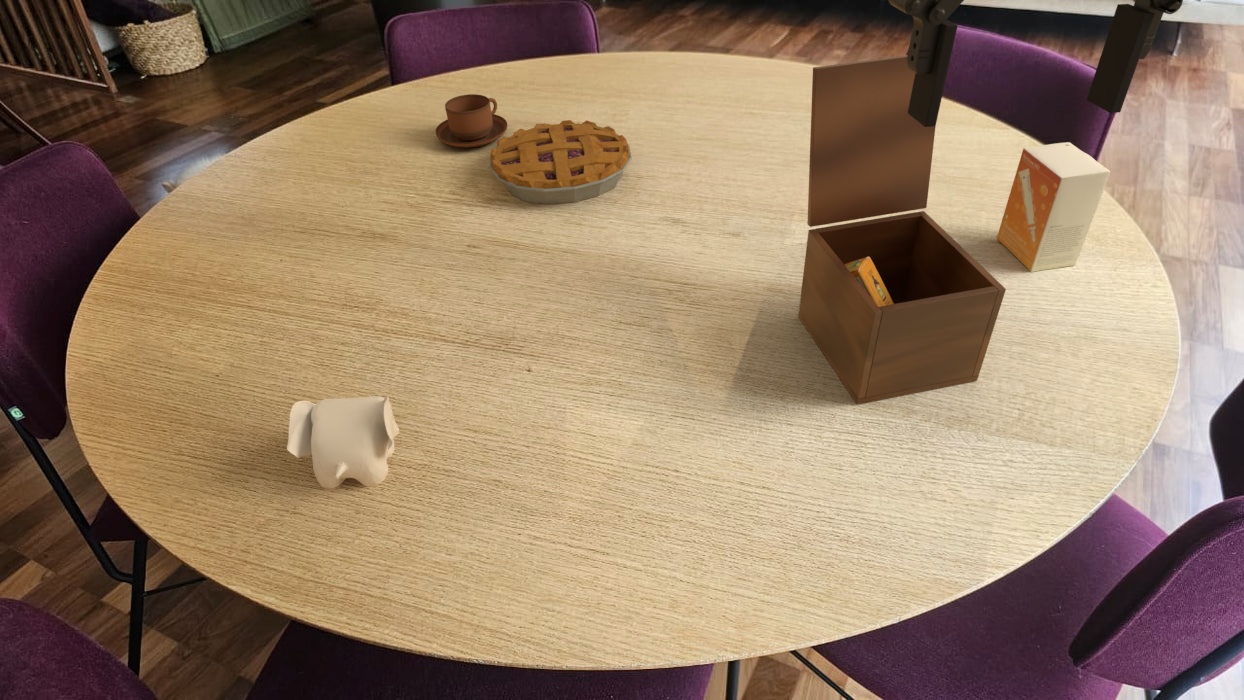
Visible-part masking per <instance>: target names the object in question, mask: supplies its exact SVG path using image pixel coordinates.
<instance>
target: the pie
mask: <svg viewBox="0 0 1244 700" xmlns="http://www.w3.org/2000/svg"><path fill="white" fill-rule="evenodd" d="M632 156H633V155H632V151H631V146H630V144H629V143H628V140H627V138H626V137H624V135H622V134H620V135H619V134H618V133H617V132H616V130H615V129H614V128H613V127H611V126H609V125H607V126H604V127H602V126H598V125H597V124H596V122H593V121H590V120H584V121H583V122H582V123H575V122H573V120H571V119H567V120H562V121H561V122H560V123H555V124H550V123H545V122H543V123H536V124H535V125H534V126H533V128H528V129H523V128H519V129H518V130H516V131H515V132H513V134H512V135H511V136H509V137H507V136H504V137H502V138H499V139H498V140H497V143H496V147H495V148H492V149H491V150H490V155H489V164H488V169H489V170H490V171H491V173H492V174H493V175H494V177H495V179H497V180H498V181H499V182H500V183H502V184H503V185H504V187H505V188H506V189H507V191H508V192H509V193H510V194H511V196H514V197H516V198H518V199H520V200H522V201H523V202H525V203H535V204H542V205H553V204H566V203H567V204H568V203H576V202H580V201H583V200H587V199H591V198H595V197H599V196H601V195H603V194H605V193H607V192H608V191H611V190H612V189H614V188H616V187H617V185H618V183H619V181H620V180H621V178H622V176H623V174H624V172H625V170H626V169H627V167H628V165H629V164H630V163H631V161H632V159H633V157H632Z"/></svg>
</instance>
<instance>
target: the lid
mask: <svg viewBox="0 0 1244 700" xmlns="http://www.w3.org/2000/svg"><path fill="white" fill-rule="evenodd" d="M907 56H908V54H904V55H896V56H889V57H881V58H874V59H873V58H872V59H866V60H859V61H852V62H851V61H850V62H845V63H844V62H843V63H837V64H828V65H821V66H814V67H812V79H811V80H812V83H811V84H812V85H811V110H810V111H811V113H810V141H809V165H808V166H809V167H808V169H809V170H808V195H807V196H808V199H807V226H808V227H810V228H813V227H819V226H825V225H831V224H832V225H833V224H837V223H843V222H849V221H855V220H861V219H862V220H863V219H868V218H874V217H880V216H886V215H893V214H899V213H904V212H910V211H917V210H922V209H927V207H928V199H929V189H930V180H931V171H932V161H933V154H934V153H933V152H934V145H935V135H936V126H937V125H936V126H932V127H924V126H923V125H922V124H921V123H919V122H918V121H917V120H915V119H914V118H913V117H912V116H910V115H909V114H908V108H909V103H910V98H911V93H912V88H913V83H914V77H915V72H913V71H912V70H910V69H909V68H908V65H907Z"/></svg>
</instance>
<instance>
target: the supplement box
mask: <svg viewBox="0 0 1244 700" xmlns="http://www.w3.org/2000/svg"><path fill="white" fill-rule="evenodd" d="M845 266H846V268H847V269H848V270H849V271H850V273H851V274H852V275H853V276H854V277H855V279H856V280H857V281H858V282H859V284H860V285H861V286H862V287H863V289H864V290H865V291H866V292H867V293H868V295H869V296H870V297H871V298H872V300H873V301H874V302H875V303H876V305H877V306H878V307H881V306H886V305H892V304H894V303H893V301H892V299H891V297H890V295H889V293H888V291H887V289H886V287H885V285H884V283H883V281H882V279H881V277H880V275H879V273H878V271H877V270H876V268H875V266H874V264H873V262H872V260H871V258H870V257H865V258H862V259H859V260H856V261H853V262H850V263H848V264H845Z"/></svg>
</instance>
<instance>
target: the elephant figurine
mask: <svg viewBox="0 0 1244 700" xmlns="http://www.w3.org/2000/svg"><path fill="white" fill-rule="evenodd" d="M392 405H393V404H392V403H391V402H390V397H389V396H387V395H386V396H385V397H383V396H381V395H374V396H373V395H372V396H360V397H359V396H357V397H339V398H338V397H337V398H324V399H321V400H319V401H317V402H316V403H314V402H312V401H309V400H299V401H296V402H295V403H294V404H293V405H292V406H291V408H290V412H289V420H288V421H289V422H288V434H287V435H288V436H287V445H286V450H287V451H288V452H289V453H290V454H291V455H293V456H295V458H297V459H300V458H307V457H310V456H311V460H312V468H313V474H314V476H315V478H316V481H317V483H318V484H319V485H320V486H321V487H322V488H324V489H329V490H330V489H335V488H337V487H340V486H341V485H342V484H343V483H344V481H345V480H346V479H354V480H356V481H358V482H359V483H360V484H361V485H362V486H364V487H369V488H370V487H373V486H377V485H379V484H380V483H382V482H383V481H385V479H386V477H387V476H388V474H389V464H388V459H389V458H390V457H391V456H393V454H394V452H395V448H396V447H395V440H394V439H395V438H396V437H398V436H399V433H400V427H399V425H398V424H397V422H396V419H395V416H394V413H393V409H392Z"/></svg>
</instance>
